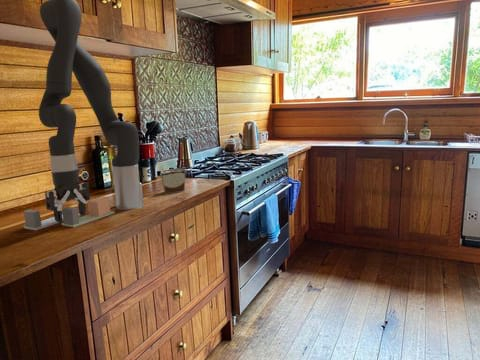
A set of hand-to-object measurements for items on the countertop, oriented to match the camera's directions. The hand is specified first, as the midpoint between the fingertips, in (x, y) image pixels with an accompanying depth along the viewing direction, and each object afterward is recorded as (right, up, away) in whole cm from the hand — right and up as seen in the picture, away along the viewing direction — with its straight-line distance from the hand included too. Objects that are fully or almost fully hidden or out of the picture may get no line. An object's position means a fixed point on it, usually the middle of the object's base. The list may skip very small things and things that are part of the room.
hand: (71, 218), depth 119 cm
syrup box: (-2, +8, +57) cm, 57 cm away
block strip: (+3, -1, +7) cm, 7 cm away
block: (+5, 0, +10) cm, 12 cm away
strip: (-8, -2, +5) cm, 9 cm away
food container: (+24, +7, +50) cm, 56 cm away
